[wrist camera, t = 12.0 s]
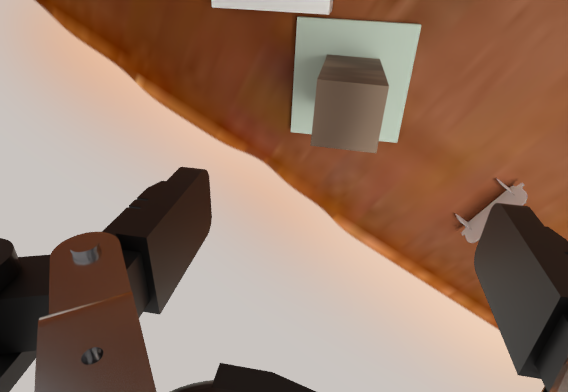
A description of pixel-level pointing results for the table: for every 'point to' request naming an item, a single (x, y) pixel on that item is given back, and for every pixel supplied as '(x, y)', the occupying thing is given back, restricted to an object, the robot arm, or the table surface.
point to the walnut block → (349, 103)
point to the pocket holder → (278, 5)
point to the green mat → (357, 43)
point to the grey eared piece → (478, 222)
